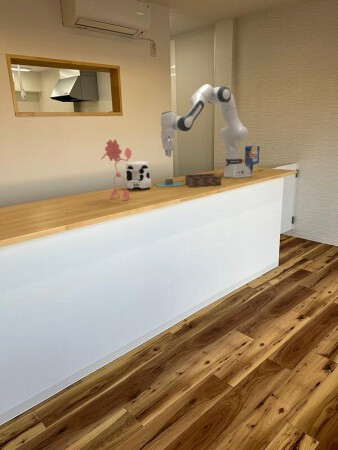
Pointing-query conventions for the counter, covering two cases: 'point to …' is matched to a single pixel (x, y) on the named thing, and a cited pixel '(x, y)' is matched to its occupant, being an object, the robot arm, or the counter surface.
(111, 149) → the figurine
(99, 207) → the counter surface
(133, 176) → the milk container
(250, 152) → the beverage box
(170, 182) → the cover plate
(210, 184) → the walnut box
